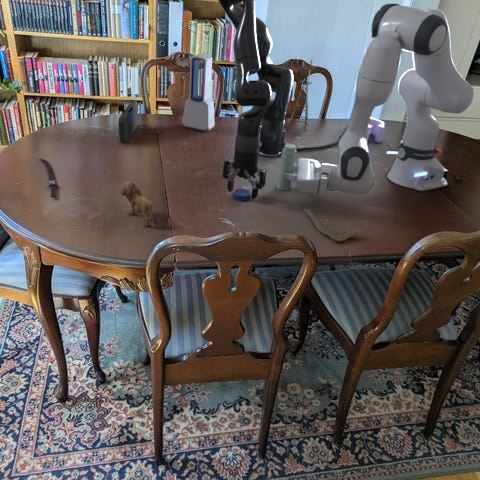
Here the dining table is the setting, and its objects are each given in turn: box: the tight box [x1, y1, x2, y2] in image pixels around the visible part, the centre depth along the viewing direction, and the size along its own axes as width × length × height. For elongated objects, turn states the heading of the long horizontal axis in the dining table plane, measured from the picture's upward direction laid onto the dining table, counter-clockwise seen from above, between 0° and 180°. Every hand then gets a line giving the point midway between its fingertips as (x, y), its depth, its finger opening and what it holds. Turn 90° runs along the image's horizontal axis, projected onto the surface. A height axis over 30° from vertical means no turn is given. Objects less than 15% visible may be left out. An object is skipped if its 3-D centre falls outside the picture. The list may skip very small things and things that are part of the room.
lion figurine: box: [119, 181, 159, 227], centre depth 134 cm, size 15×5×9 cm, turn 50°
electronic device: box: [181, 53, 216, 133], centre depth 194 cm, size 12×8×30 cm, turn 71°
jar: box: [276, 143, 298, 192], centre depth 157 cm, size 5×5×15 cm
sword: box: [40, 158, 59, 198], centre depth 151 cm, size 31×3×1 cm, turn 26°
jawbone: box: [303, 208, 364, 243], centre depth 139 cm, size 9×20×2 cm, turn 50°
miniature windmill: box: [288, 59, 313, 132], centre depth 208 cm, size 9×8×30 cm
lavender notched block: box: [366, 116, 386, 143], centre depth 214 cm, size 20×12×7 cm, turn 11°
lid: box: [232, 188, 251, 202], centre depth 152 cm, size 5×5×2 cm
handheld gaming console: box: [117, 101, 139, 143], centre depth 187 cm, size 23×3×10 cm, turn 178°
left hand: (242, 194), depth 152 cm, fingers open, 8 cm apart
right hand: (283, 170), depth 158 cm, fingers closed on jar, 5 cm apart
